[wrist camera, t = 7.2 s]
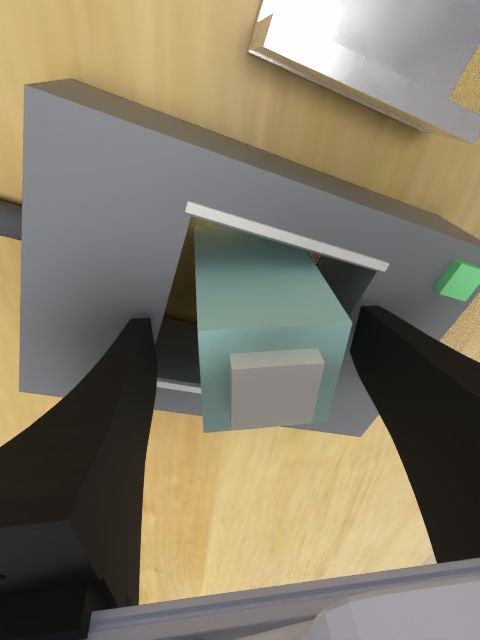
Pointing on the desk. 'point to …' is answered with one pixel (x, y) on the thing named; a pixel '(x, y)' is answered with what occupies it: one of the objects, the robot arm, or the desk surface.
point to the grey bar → (10, 220)
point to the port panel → (169, 234)
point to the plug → (264, 332)
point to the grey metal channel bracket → (379, 54)
